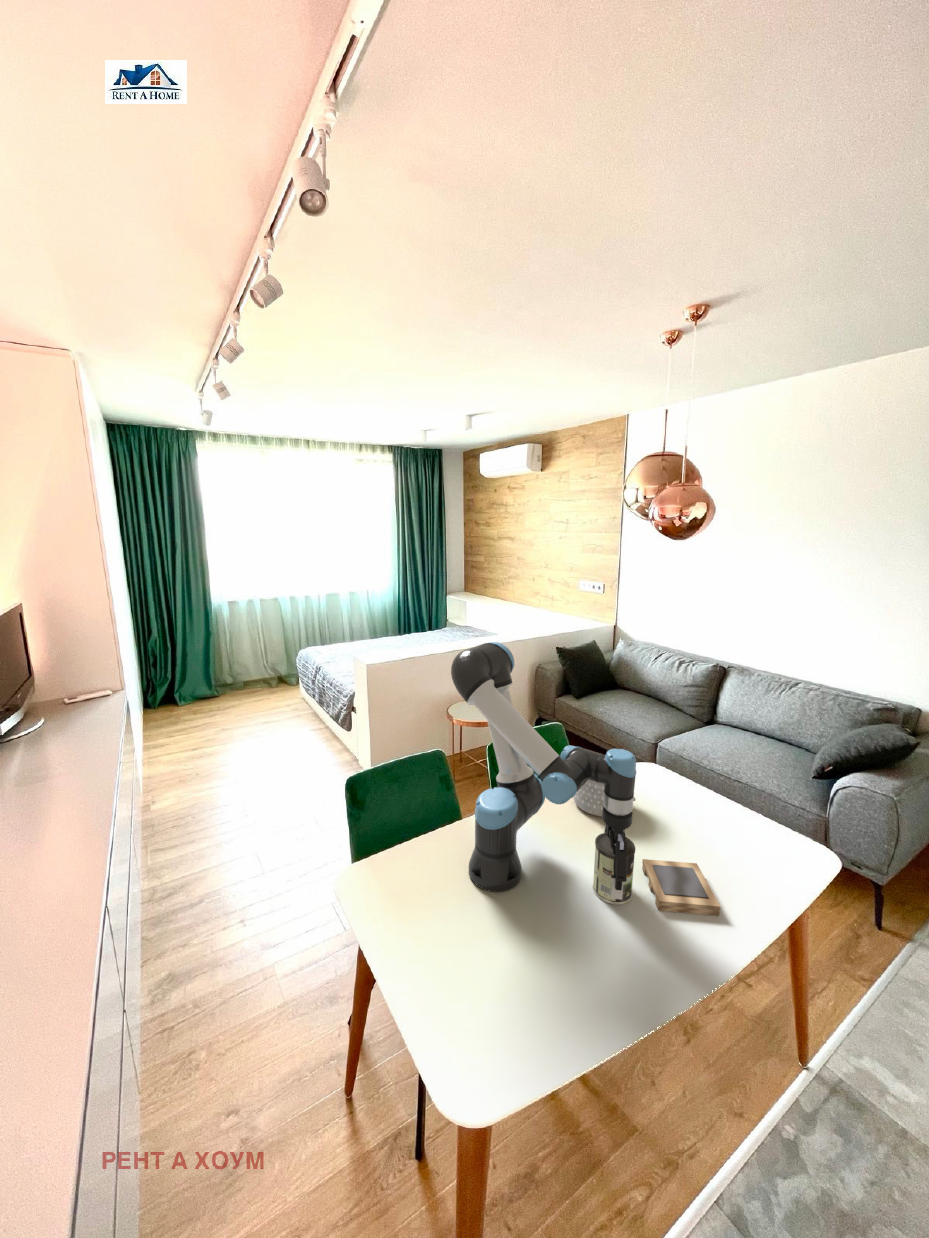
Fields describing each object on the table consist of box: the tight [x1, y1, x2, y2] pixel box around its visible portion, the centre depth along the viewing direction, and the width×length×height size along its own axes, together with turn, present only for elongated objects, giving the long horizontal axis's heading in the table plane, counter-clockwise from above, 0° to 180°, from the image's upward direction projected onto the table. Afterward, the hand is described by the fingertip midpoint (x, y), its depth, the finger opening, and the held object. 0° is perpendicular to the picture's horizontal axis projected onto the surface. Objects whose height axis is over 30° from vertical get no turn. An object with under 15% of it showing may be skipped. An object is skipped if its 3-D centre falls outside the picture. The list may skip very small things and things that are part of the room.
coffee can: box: [592, 832, 636, 906], centre depth 126 cm, size 10×10×14 cm
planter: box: [573, 780, 604, 818], centre depth 167 cm, size 19×19×14 cm
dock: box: [641, 858, 722, 917], centre depth 127 cm, size 15×16×3 cm
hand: (612, 882), depth 127 cm, fingers closed on coffee can, 10 cm apart
